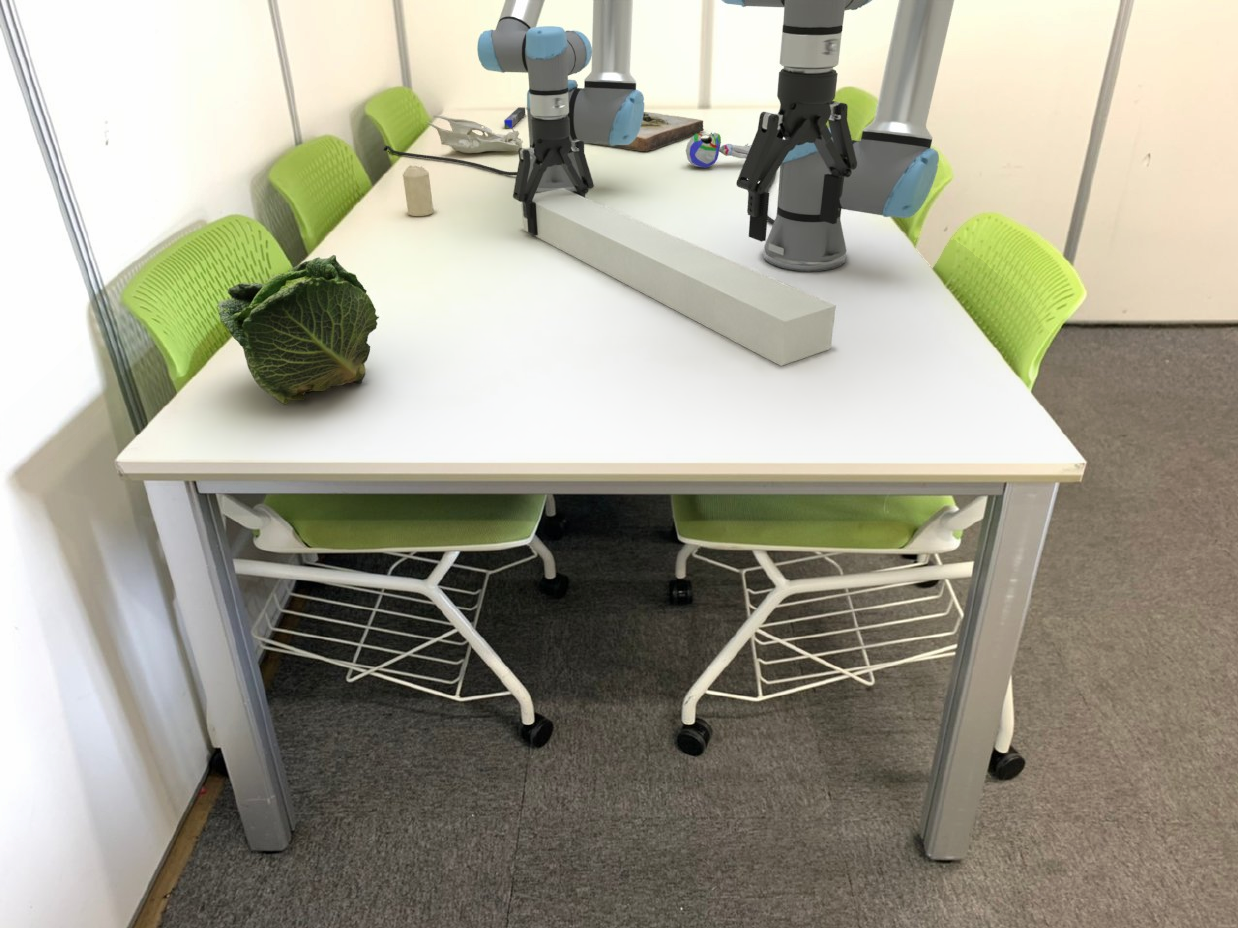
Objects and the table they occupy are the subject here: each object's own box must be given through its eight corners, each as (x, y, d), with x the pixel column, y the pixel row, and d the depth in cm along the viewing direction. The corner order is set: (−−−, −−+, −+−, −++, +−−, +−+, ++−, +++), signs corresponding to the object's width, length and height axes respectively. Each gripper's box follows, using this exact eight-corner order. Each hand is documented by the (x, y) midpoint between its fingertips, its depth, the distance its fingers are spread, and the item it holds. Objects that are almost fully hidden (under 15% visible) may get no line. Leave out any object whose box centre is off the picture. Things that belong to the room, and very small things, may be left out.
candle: (438, 210, 199) (432, 164, 194) (425, 217, 195) (419, 170, 189) (416, 208, 201) (410, 162, 195) (403, 215, 196) (396, 168, 191)
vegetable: (300, 411, 136) (210, 300, 128) (407, 340, 137) (324, 225, 129) (292, 446, 117) (186, 319, 110) (414, 364, 119) (318, 232, 111)
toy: (810, 148, 223) (693, 134, 219) (802, 182, 228) (688, 169, 223) (799, 138, 232) (687, 125, 227) (792, 172, 236) (681, 159, 232)
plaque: (647, 125, 237) (559, 112, 252) (647, 153, 241) (560, 139, 256) (706, 107, 258) (622, 97, 273) (705, 133, 262) (622, 121, 277)
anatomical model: (438, 112, 249) (525, 110, 245) (443, 146, 254) (528, 145, 250) (420, 123, 236) (511, 122, 233) (426, 159, 241) (515, 158, 238)
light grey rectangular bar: (523, 230, 187) (520, 196, 183) (565, 221, 192) (563, 188, 188) (780, 366, 131) (784, 321, 127) (830, 349, 136) (836, 305, 132)
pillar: (525, 107, 285) (511, 120, 268) (525, 114, 286) (511, 128, 269) (518, 107, 285) (503, 120, 268) (518, 114, 286) (504, 128, 270)
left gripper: (506, 126, 166) (515, 244, 177) (609, 111, 176) (611, 223, 188) (488, 120, 171) (498, 234, 183) (589, 105, 181) (592, 214, 193)
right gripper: (754, 82, 108) (743, 253, 119) (897, 63, 119) (874, 221, 130) (715, 74, 113) (707, 239, 124) (855, 56, 125) (837, 209, 136)
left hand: (555, 228), depth 185 cm, fingers closed on light grey rectangular bar, 10 cm apart
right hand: (793, 230), depth 127 cm, fingers open, 13 cm apart
